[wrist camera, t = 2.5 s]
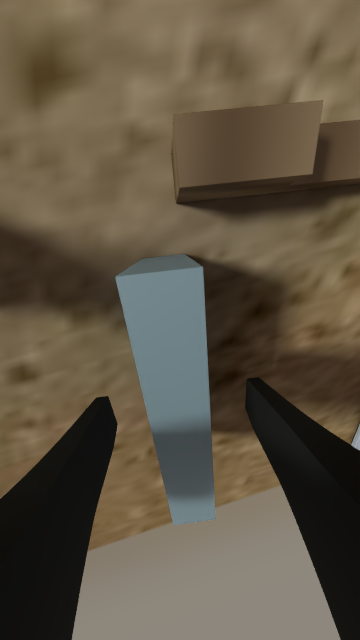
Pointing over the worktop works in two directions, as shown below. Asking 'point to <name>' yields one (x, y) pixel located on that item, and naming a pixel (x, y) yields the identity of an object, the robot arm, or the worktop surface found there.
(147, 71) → the worktop surface
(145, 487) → the worktop surface
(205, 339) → the slate-blue slotted board
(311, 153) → the walnut slotted board
